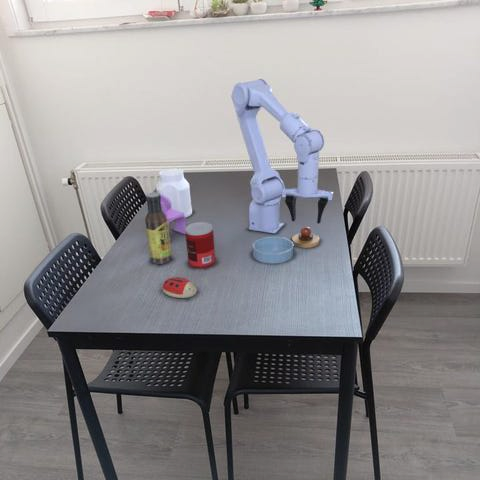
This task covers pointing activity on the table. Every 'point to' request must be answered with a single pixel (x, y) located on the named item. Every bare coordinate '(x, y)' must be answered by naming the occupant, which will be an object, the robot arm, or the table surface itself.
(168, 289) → the ladybug figurine
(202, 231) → the canned food
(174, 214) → the toy chair
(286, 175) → the table surface
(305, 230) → the ball
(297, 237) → the holder
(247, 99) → the robot arm
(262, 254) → the light blue bowl
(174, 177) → the jar
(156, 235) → the sauce bottle
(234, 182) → the table surface
